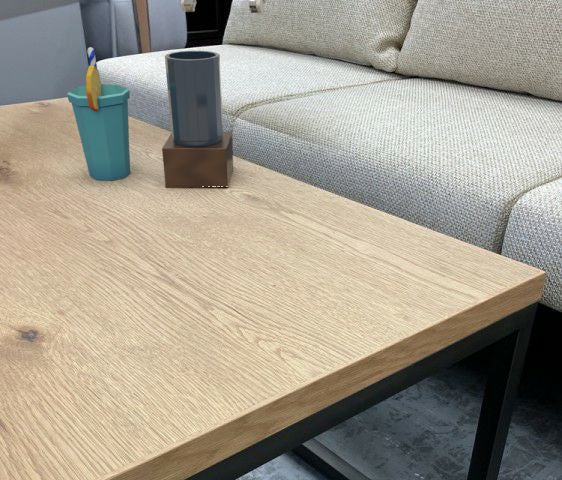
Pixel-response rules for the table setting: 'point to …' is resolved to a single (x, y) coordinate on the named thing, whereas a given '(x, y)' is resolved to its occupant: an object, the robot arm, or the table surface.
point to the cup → (102, 124)
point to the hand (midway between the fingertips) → (220, 9)
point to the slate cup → (194, 97)
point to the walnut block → (198, 163)
